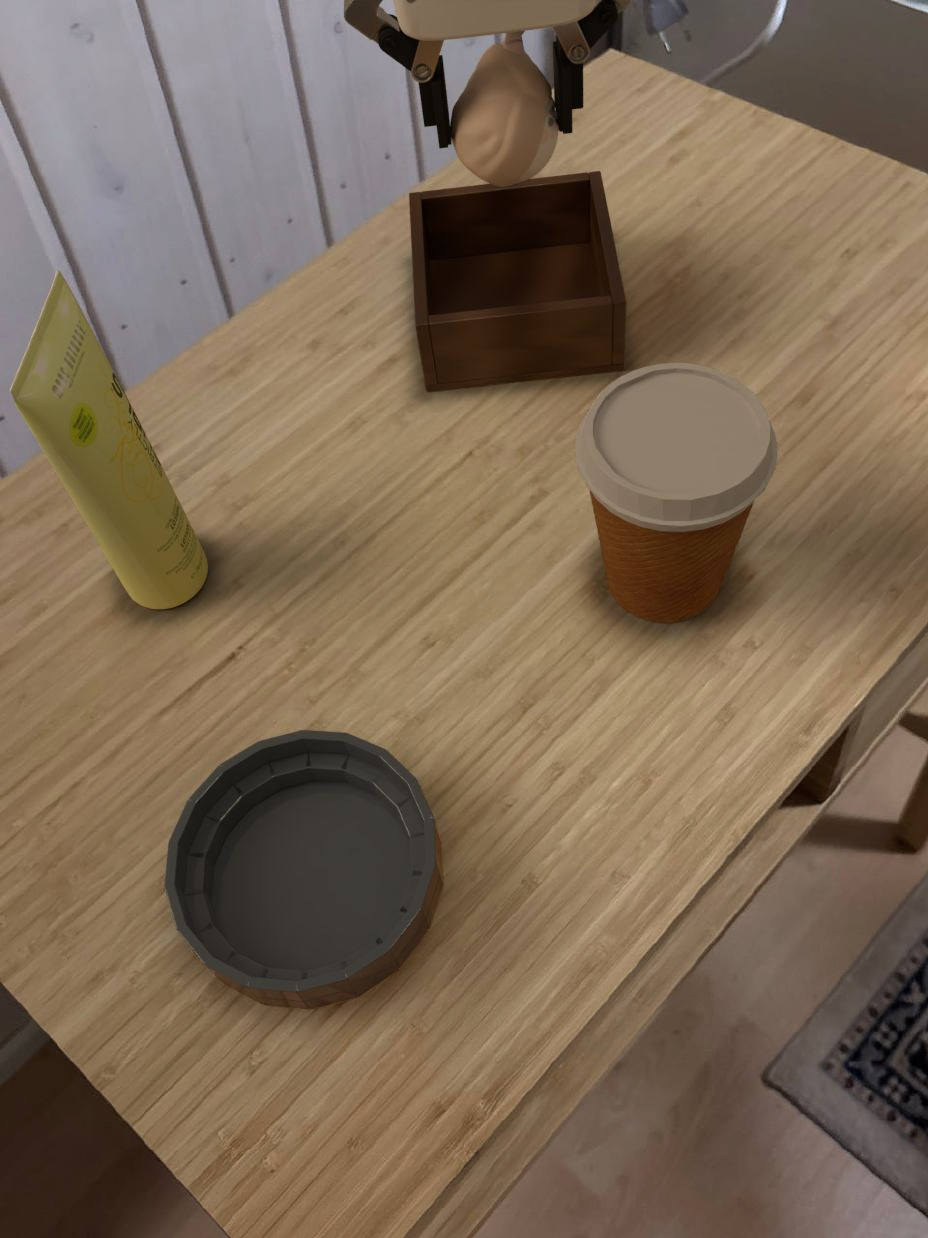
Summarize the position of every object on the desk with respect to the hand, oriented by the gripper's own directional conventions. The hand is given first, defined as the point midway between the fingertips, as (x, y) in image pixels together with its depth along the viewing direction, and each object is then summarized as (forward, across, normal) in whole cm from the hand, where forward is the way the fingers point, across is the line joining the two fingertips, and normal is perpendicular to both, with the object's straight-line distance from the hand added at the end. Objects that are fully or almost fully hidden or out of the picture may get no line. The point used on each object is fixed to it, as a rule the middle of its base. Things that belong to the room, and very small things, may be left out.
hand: (503, 123), depth 64 cm
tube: (+14, -22, -19) cm, 32 cm away
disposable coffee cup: (+14, +6, -22) cm, 27 cm away
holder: (+14, 0, 0) cm, 14 cm away
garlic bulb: (+3, 0, 0) cm, 3 cm away
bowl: (+14, -13, -38) cm, 42 cm away
